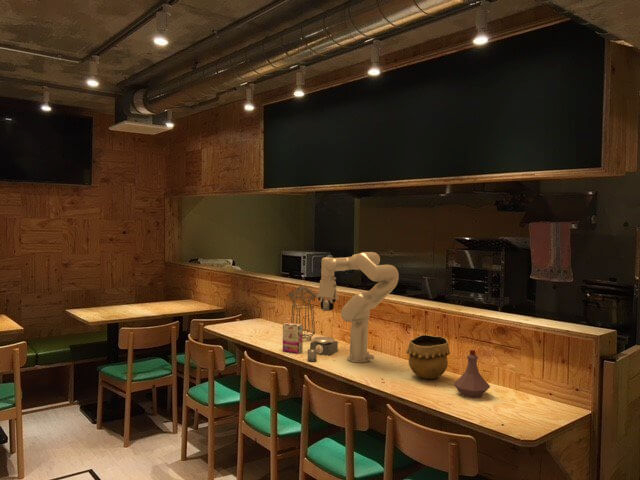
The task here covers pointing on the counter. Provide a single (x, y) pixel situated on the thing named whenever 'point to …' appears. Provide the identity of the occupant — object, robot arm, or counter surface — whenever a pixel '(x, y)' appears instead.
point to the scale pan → (324, 339)
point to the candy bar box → (293, 338)
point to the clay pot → (428, 356)
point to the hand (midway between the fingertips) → (327, 308)
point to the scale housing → (325, 347)
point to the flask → (472, 379)
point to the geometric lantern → (303, 308)
